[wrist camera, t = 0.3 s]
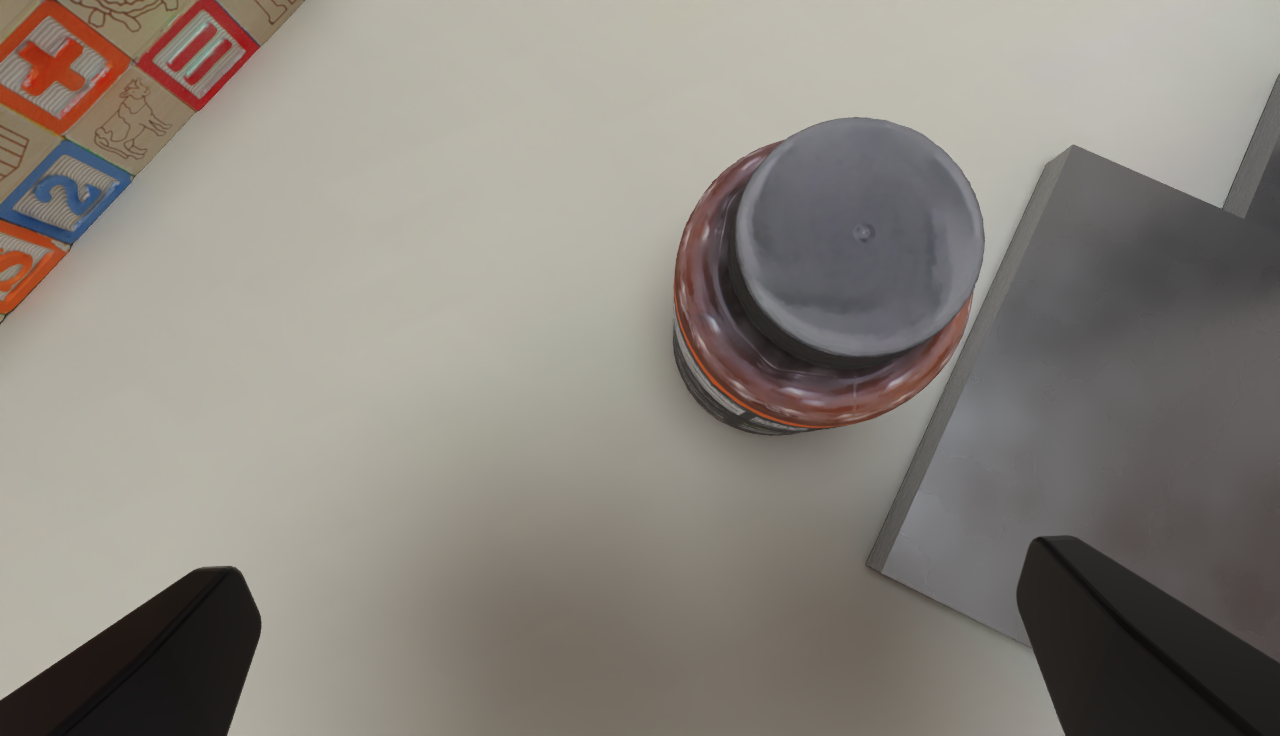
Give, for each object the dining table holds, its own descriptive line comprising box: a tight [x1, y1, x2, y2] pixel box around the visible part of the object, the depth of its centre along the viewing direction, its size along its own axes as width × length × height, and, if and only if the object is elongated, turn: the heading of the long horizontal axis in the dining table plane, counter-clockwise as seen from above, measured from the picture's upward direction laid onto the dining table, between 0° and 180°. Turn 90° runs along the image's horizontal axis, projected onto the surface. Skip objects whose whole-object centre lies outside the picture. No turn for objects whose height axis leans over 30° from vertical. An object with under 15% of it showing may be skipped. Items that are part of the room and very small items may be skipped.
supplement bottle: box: [673, 117, 985, 435], centre depth 17 cm, size 6×6×11 cm
